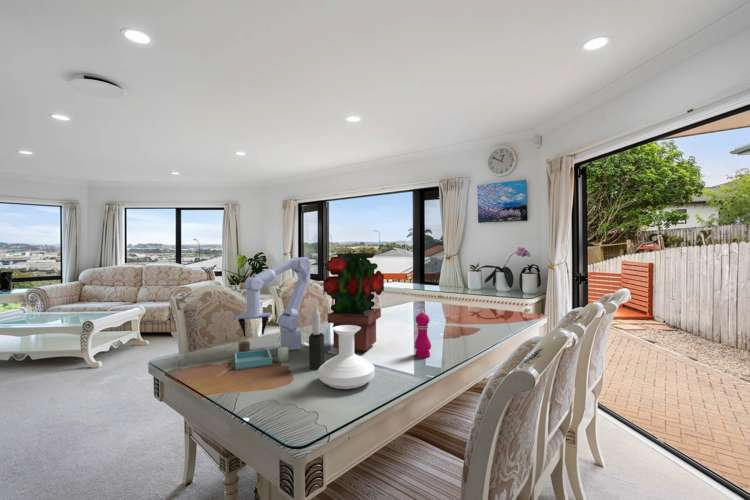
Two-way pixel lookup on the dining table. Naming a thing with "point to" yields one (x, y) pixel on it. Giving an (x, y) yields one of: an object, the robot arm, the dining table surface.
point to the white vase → (346, 363)
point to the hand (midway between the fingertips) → (253, 335)
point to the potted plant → (354, 296)
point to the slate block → (271, 350)
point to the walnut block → (244, 346)
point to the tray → (252, 359)
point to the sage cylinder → (283, 354)
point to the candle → (316, 343)
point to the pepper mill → (422, 336)
